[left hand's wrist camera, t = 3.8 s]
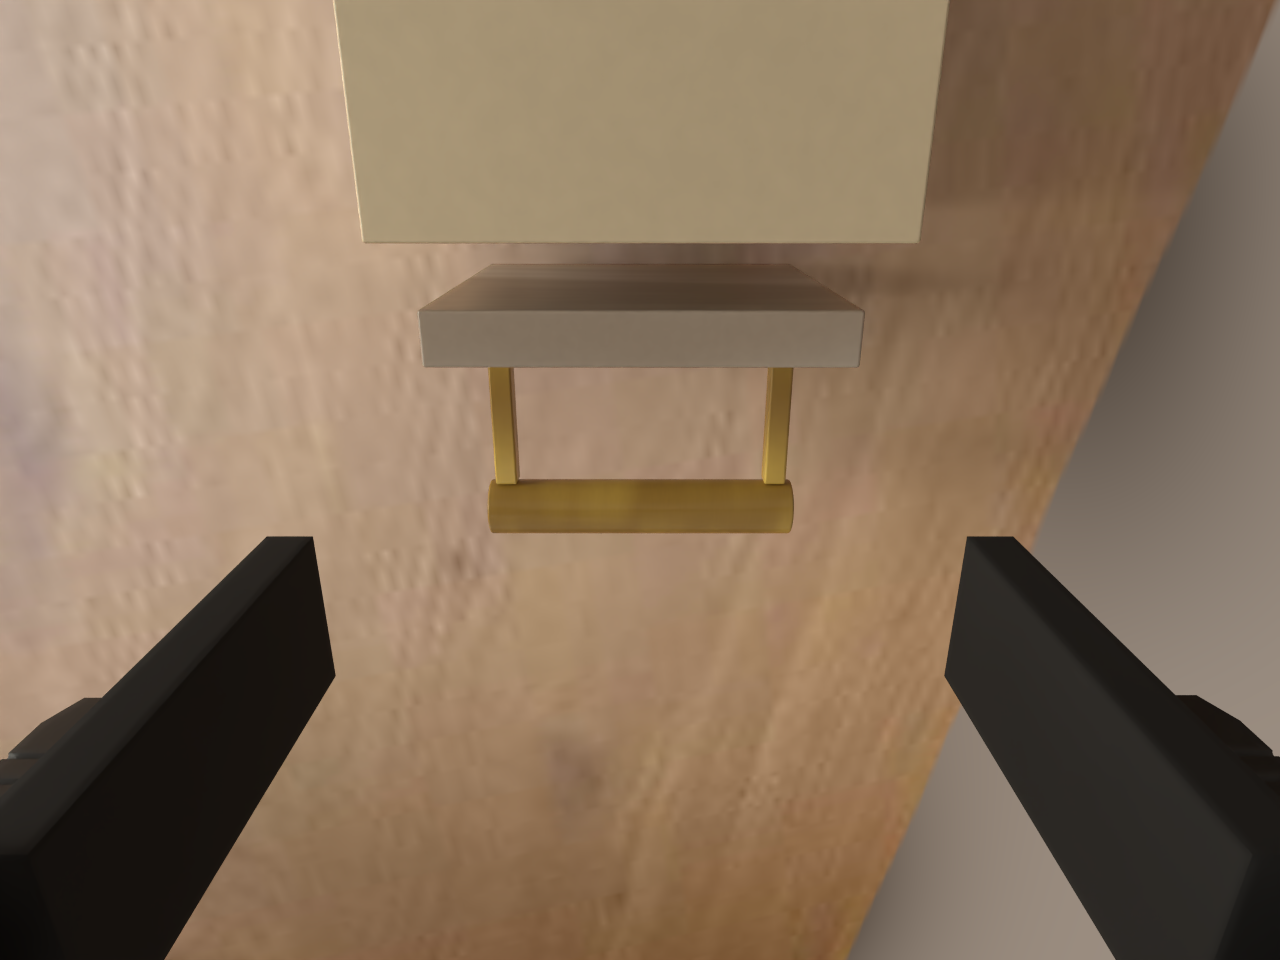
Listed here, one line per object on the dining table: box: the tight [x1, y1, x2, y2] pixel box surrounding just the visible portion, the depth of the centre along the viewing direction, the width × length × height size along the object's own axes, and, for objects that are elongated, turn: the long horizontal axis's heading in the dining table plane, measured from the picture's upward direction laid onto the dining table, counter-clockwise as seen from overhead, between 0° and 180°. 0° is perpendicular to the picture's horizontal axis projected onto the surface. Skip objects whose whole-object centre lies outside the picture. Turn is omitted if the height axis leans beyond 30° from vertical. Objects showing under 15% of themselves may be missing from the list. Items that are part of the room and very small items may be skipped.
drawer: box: [417, 264, 865, 533], centre depth 19 cm, size 22×9×9 cm, turn 0°
